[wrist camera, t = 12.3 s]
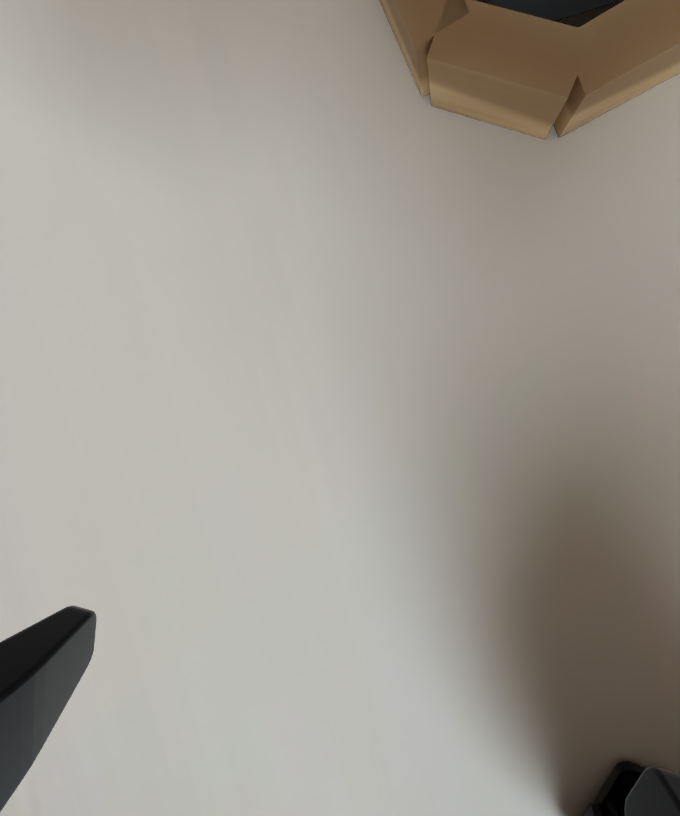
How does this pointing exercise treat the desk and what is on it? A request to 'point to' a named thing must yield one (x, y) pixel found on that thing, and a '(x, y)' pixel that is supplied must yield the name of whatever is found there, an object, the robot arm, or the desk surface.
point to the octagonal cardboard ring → (534, 59)
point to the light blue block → (549, 7)
